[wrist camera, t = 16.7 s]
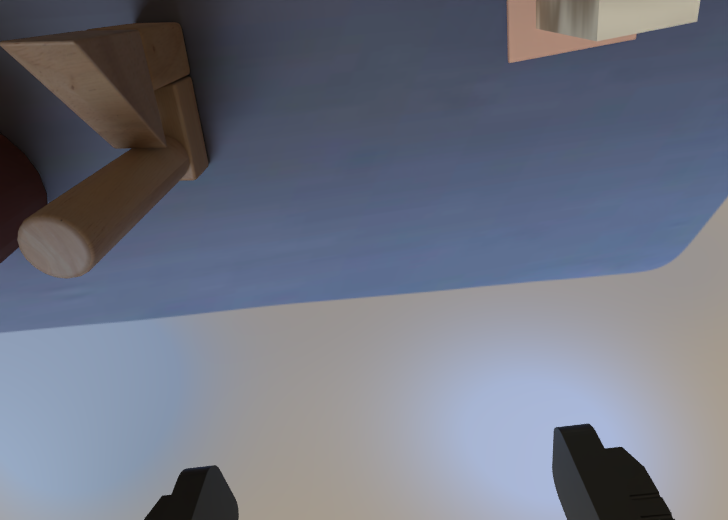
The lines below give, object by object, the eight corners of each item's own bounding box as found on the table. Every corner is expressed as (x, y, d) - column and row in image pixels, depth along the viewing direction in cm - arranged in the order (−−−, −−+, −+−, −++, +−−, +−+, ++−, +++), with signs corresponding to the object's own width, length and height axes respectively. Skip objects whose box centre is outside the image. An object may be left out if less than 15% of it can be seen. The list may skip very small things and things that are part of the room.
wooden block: (182, 21, 33) (18, 47, 17) (210, 166, 38) (105, 283, 23) (131, 23, 33) (-77, 49, 17) (167, 166, 38) (32, 284, 23)
